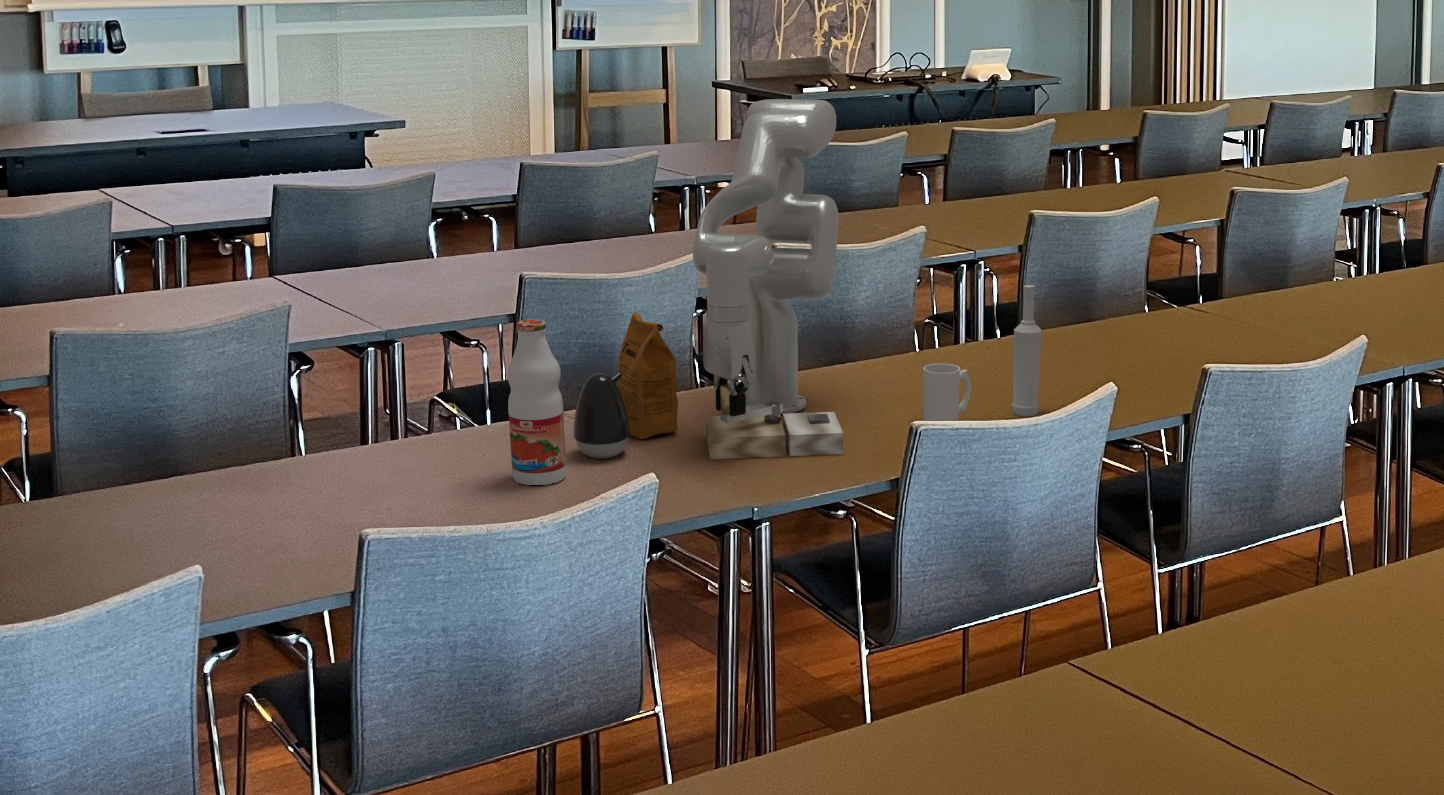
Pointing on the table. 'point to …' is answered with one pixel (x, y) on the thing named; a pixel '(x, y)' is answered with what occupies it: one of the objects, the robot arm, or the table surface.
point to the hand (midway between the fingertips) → (730, 411)
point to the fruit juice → (535, 409)
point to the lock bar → (749, 409)
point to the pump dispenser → (601, 418)
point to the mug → (944, 392)
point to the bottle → (1026, 359)
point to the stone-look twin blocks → (775, 436)
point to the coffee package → (648, 380)
